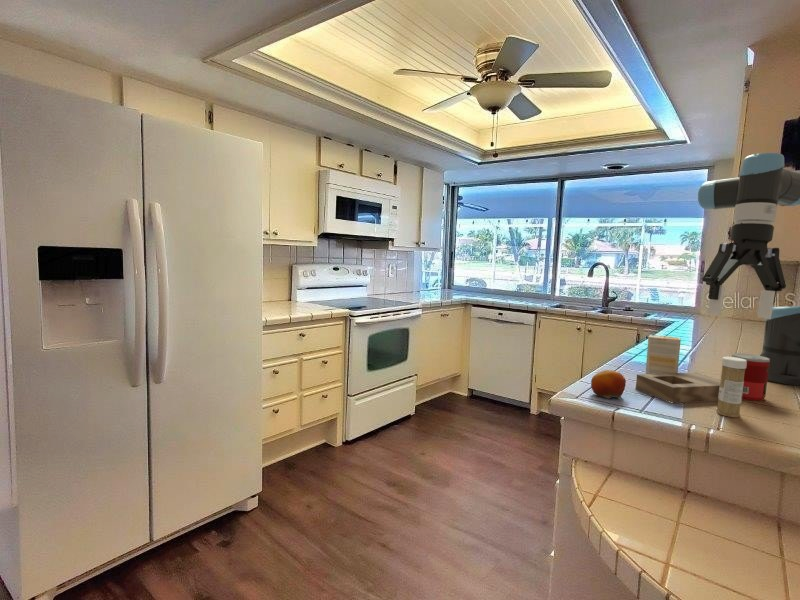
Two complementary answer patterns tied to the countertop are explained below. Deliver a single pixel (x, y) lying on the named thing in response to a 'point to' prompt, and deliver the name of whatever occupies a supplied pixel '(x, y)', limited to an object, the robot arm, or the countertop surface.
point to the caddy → (679, 386)
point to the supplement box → (662, 354)
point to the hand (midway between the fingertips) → (739, 316)
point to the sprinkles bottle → (731, 386)
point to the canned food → (754, 376)
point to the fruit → (608, 384)
